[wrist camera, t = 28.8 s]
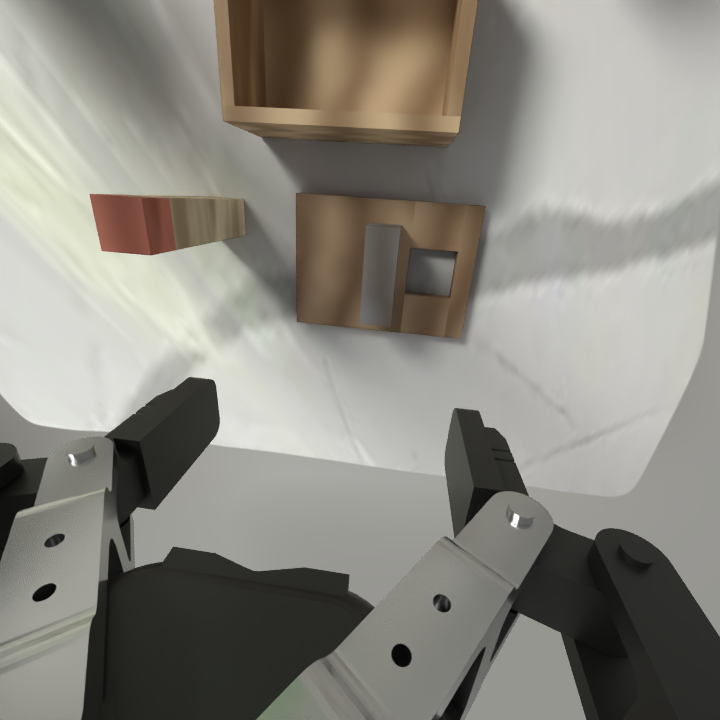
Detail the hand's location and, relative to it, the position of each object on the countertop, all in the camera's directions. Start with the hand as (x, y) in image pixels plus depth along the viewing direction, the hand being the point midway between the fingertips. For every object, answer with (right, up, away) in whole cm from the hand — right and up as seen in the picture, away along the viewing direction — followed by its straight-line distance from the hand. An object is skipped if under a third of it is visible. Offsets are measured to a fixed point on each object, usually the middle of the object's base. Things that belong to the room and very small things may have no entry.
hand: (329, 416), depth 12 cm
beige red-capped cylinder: (-13, +17, +27) cm, 34 cm away
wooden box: (+1, +29, +20) cm, 35 cm away
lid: (+3, +12, +27) cm, 30 cm away
